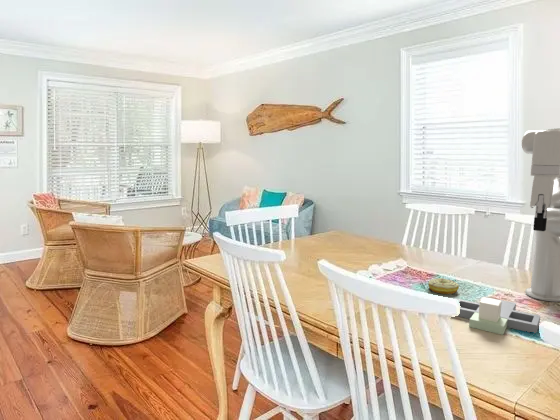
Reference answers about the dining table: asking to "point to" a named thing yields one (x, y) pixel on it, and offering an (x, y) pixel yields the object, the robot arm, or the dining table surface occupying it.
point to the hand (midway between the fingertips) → (539, 230)
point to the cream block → (490, 309)
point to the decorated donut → (443, 286)
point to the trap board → (506, 319)
